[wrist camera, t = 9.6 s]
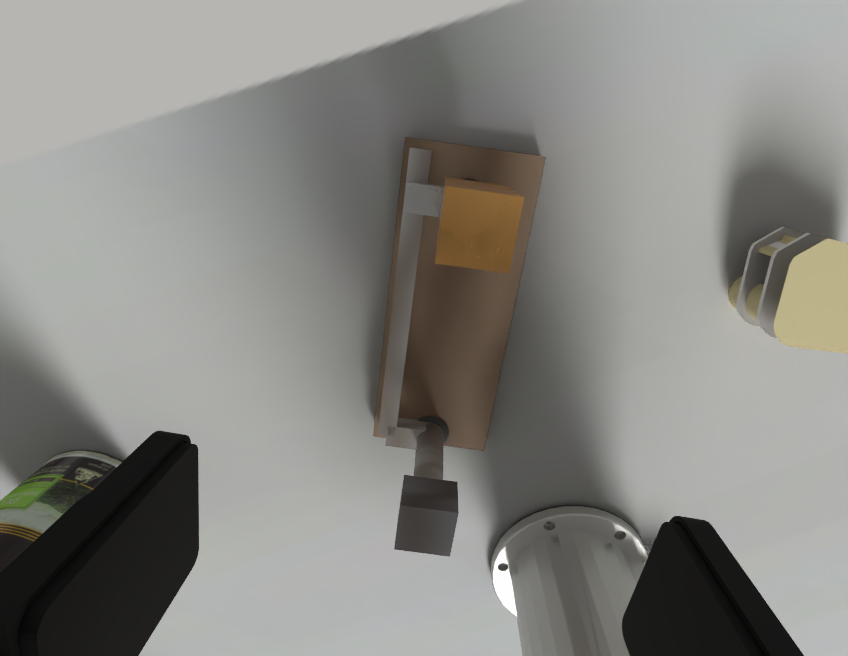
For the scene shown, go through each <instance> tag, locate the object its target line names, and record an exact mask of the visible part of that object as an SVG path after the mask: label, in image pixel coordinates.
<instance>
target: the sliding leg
mask: <svg viewBox="0 0 848 656" xmlns="http://www.w3.org/2000/svg"><path fill="white" fill-rule="evenodd" d="M523 202H524V196H522V195H521V194H519V193H518V192H516V191H515V190H514V189H512V188H511V187H509V186H506V185H499V184H492V183H484V182H477V181H470V180H463V179H456V178H448V177H445V184H444V186H441V185H433V184H426V183H419V182H412V181H407V182H406V190H405V199H404V208H403V212H404V213H412V214H419V215H426V216H433V217H440V220H439V227H438V235H437V243H436V256H435V264H442V265H450V266H457V267H464V268H471V269H479V270H486V271H493V272H501V273H508V274H509V272H510V267H511V262H512V257H513V252H514V247H515V242H516V237H517V232H518V227H519V222H520V217H521V212H522V207H523Z"/></svg>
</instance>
